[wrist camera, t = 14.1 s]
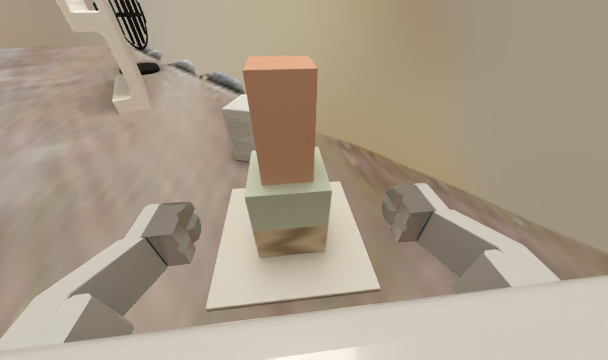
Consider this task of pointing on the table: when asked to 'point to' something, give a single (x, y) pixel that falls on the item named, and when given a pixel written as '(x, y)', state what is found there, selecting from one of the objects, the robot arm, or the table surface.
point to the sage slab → (288, 200)
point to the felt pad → (289, 262)
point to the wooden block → (291, 241)
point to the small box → (239, 128)
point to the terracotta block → (283, 116)
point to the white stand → (130, 83)
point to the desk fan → (142, 66)
